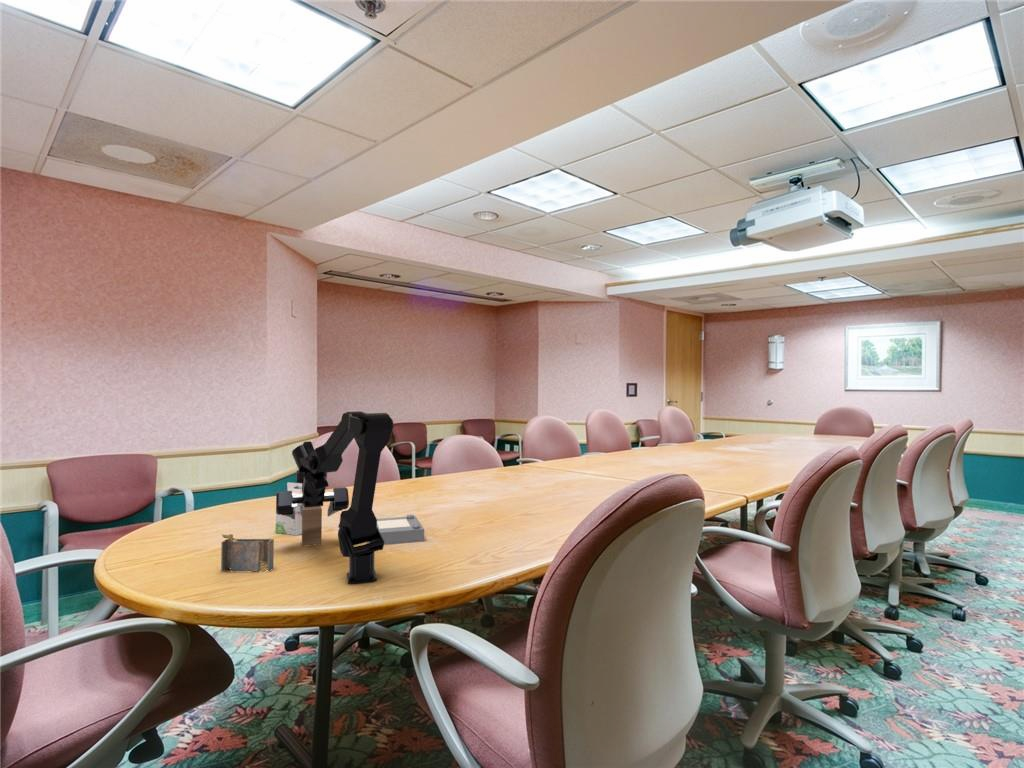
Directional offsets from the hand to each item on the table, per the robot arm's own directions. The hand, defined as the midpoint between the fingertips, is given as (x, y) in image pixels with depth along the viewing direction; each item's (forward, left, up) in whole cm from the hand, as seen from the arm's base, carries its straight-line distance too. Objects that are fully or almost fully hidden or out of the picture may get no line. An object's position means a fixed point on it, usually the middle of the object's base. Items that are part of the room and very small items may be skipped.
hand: (311, 516), depth 151 cm
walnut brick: (0, 0, -7) cm, 7 cm away
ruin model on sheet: (-19, +14, -8) cm, 25 cm away
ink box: (+13, +6, -8) cm, 16 cm away
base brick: (0, -23, -7) cm, 24 cm away
